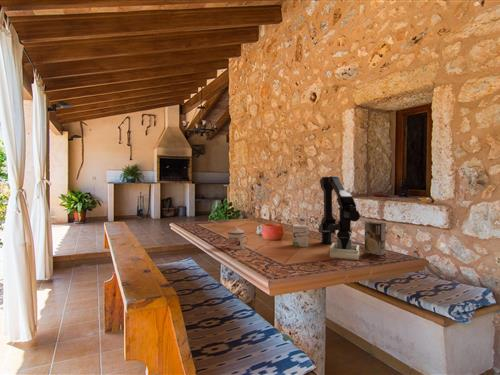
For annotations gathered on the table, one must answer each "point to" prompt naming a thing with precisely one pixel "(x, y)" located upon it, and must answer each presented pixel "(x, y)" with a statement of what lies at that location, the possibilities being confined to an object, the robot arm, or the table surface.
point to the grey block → (349, 246)
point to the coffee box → (375, 237)
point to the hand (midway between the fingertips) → (344, 248)
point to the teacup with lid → (236, 239)
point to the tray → (345, 254)
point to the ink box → (300, 235)
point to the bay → (352, 246)
